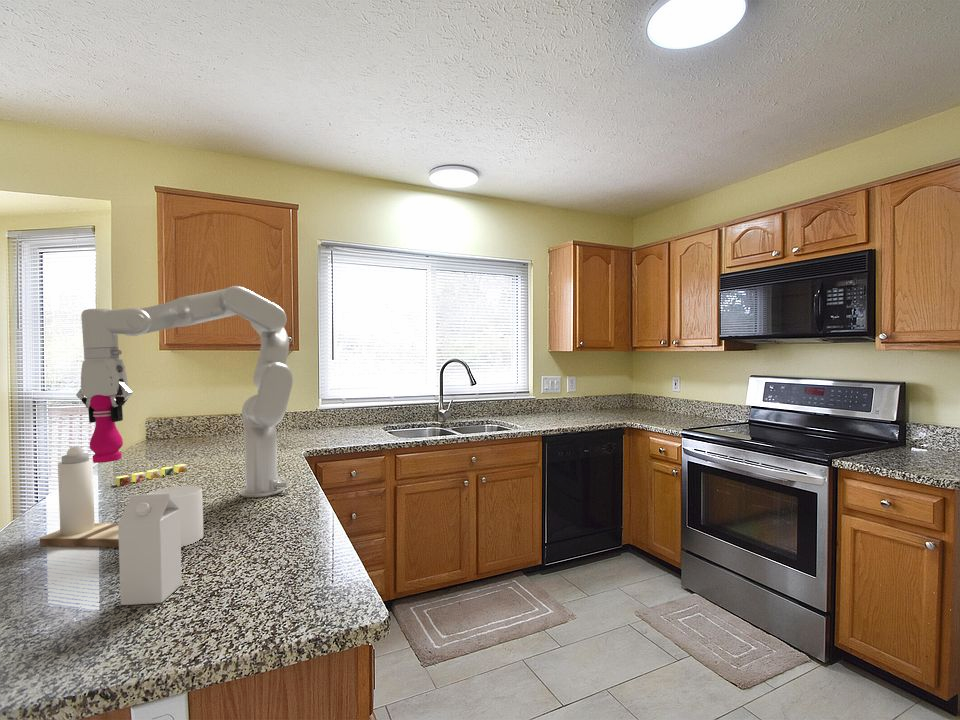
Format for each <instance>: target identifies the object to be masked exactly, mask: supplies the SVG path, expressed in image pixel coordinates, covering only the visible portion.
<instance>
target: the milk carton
mask: <svg viewBox="0 0 960 720" xmlns="http://www.w3.org/2000/svg"><path fill="white" fill-rule="evenodd" d="M128 497H129V500H128V502H127V504H126V507H125V509H124V511H123V513H122V514H121V517H120V519H119V520H118V522H117V523H118V533H119V547H118V555H119V557H118V561H119V563H118V564H119V566H118V567H119V589H120V590H119V593H120V594H119V597H120V605H121V606H130V605H148V604H162V603H163V602H165V600H167V599H168V598H169V597H170V596H171V595H172V594H173V593H174V592H176V590H178V588H180V587H181V586H182V585H183V584H182V583H183V581H182V580H183V578H182V548H181V538H180V509H179V508H178V507H177V506H176V505H175V504H174V503H173V502H172V501H171V500H170V493H168V494H148V493H147V494H146V493H145V494H129V495H128Z"/></svg>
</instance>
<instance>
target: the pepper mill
mask: <svg viewBox="0 0 960 720" xmlns="http://www.w3.org/2000/svg"><path fill="white" fill-rule="evenodd" d="M116 400H117V398H116ZM90 406H91V407H92V408H93V409H94V410H95V411H94V412H93V413H94V415H93V416H94V417H95V420H96V422H95V425H94V426H95V427H94V431H93V433H92V436H91V438H90V440H89V449H90V450H91V452H93V453H94V454H93V455H92V460H93V463H96V464H99V463H101V464H102V463H103V464H104V463H110V462H116V461H120V460H121V459H122V452H121V451H120V449H122V446H123V445H124V441H123V438H122V435H121V433H120V432H119V430H118V428H117V426H116V422H112V421H111V407H113V406H112V403H111V401H110V398H109V397H107V396H103V395H94V396H93V397H92V398H91V400H90Z"/></svg>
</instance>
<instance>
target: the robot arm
mask: <svg viewBox="0 0 960 720" xmlns="http://www.w3.org/2000/svg"><path fill="white" fill-rule="evenodd" d="M233 316H239V317H241V318H243V319H244V320H246V321H249V323H250V326H251V328H252V329H254V330H255V332H257V334H258V336H259V338H260V348H259V349H260V350H259V354H258V357H257V362H256V366H255V369H254V372H253V378H252V379H253V383H254V385H255V387H256V388H258V391H257V394H254V395H251V396H249V397H248V398H247V399H246V400H244V403H243V405H242V409H241V418H242V424H243V425H242V426H243V434H244V435H243V437H244V438H243V439H244V468H245V469H244V471H245V472H244V474H245V476H244V477H245V479H244V480H245V481H244V482H245V487H244V488H242V489H241V490H240V492H239V493H240V496H241V497H243V498H263V497H264V498H265V497H269V496H273V495H276V494H279V493H281V492H283V490H284V488H285V489H286V488H289V486H290V481H289V480H287V479H286V480H284V479H283V480H282V476H281V475H279V474H278V445H277V443H278V441H277V439H278V436H277V427H276V425H278V424H279V423H280V422H282V420H283V418H284V417H285V414H286V411H287V408H288V405H289V403H288V402H289V401H290V396H291V392H292V387H293V383H294V381H293V380H294V377H293V372H292V369H290V367H289V366H288V365H287V360H288V355H289V350H290V340H289V335H288V333H287V331H286V328H285V326H286V324H287V321H288V319H287V318H288V316H287V314H286V312H285V310H284V309H283V307H281V306H279V305H278V304H276V303H275V302H273V301H272V302H271V301H270V300H268V299H267V298H264V297H262V296H261V295H259V294H257V293H255V292H254V291H251V290H250V289H248V288H245V287H244V286H238V285H232V286H230V287H226V288H224V289H223V288H222V289H218V290H213V291H208V292H202V293H196V294H192V295H184V296H181V297H178V298H175V299H173V300H170V301H167V302H164V303H161V304H155V305H151V306H146V307H142V308H141V307H139V308H135V307H130V308H129V307H128V308H121V309H120V308H119V309H110V308H109V309H108V308H87V309H84V310H83V311H82V312H81V315H80V317H81V318H80V319H81V330H82V332H81V333H82V347H83V360H82V364H81V372H80V389H79V390H78V392H77V393H76V396H75V397H77V398H78V399H79V400H80V401H81V402H82V404H84V405H85V408H86V409H88V422H89V423H96V420H95V417H94V416H93V415H94V413H93V412H94V411H95V410H94V409H93V408H92V407H91V406H90V400H91V398H92V397H93V396H94V395H103V396H107V397H109V398H110V401H111V403H112V406H113V407H111V421H112V422H115V423H116V422H122V421H123V420H124V417H123V416H124V415H123V414H124V413H123V407H124V406H125V405H126V404H125V403H126V402H127V401H128V400H129V398H130V397H131V396H132V395H133V391H132V390H131V389H130V388H129V382H128V376H127V371H126V367H125V364H124V360H123V358H122V359H120V356H121V355H122V350H120V349H119V337H118V335H125V336H128V337H137V336H141V335H145V334H149V333H150V334H151V333H154V332H160V331H163V330H169V329H173V328H179V327H188V326H193V325H198V324H202V323H207V322H211V321H215V320H220V319H224V318H229V317H233ZM116 398H117V400H116Z"/></svg>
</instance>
